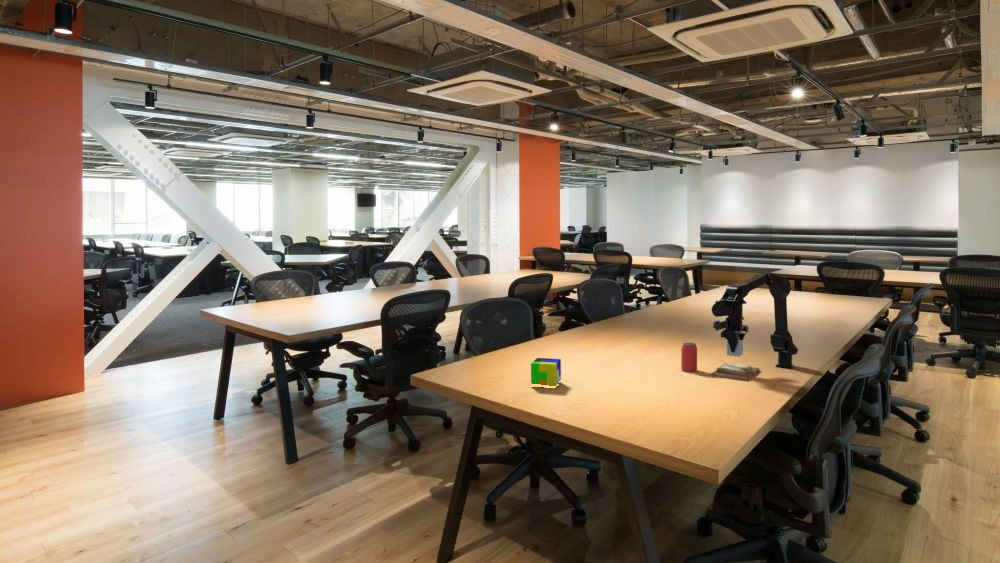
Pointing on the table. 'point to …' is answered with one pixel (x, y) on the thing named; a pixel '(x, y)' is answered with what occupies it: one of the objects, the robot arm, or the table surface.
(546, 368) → the puzzle toy
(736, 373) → the base
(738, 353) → the block
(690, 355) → the beer can
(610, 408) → the table surface
